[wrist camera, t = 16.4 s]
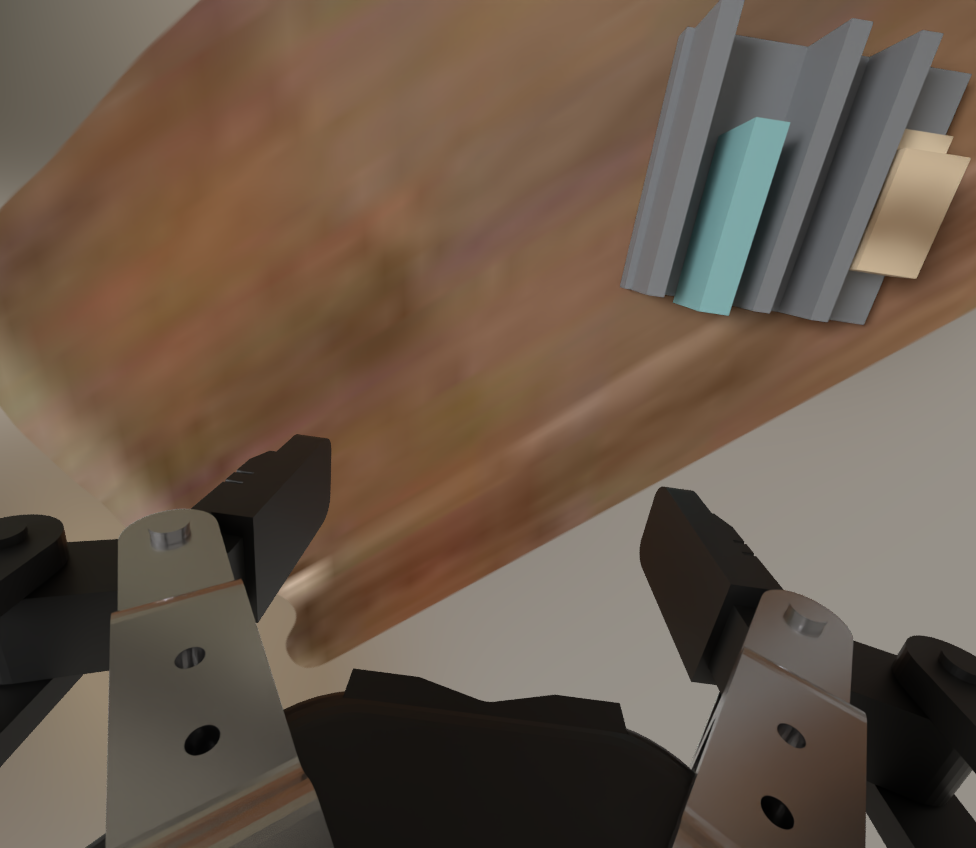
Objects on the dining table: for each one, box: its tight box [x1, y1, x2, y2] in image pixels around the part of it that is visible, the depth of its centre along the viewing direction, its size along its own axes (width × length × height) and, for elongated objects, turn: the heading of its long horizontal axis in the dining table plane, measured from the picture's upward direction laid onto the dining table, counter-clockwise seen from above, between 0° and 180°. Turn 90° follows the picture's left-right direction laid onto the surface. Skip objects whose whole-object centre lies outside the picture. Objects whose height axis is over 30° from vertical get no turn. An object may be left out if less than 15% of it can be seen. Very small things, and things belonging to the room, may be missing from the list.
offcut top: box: [849, 148, 971, 279], centre depth 30 cm, size 7×4×2 cm, turn 172°
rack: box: [620, 0, 972, 325], centre depth 31 cm, size 16×18×6 cm
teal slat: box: [673, 117, 790, 316], centre depth 31 cm, size 5×2×11 cm
